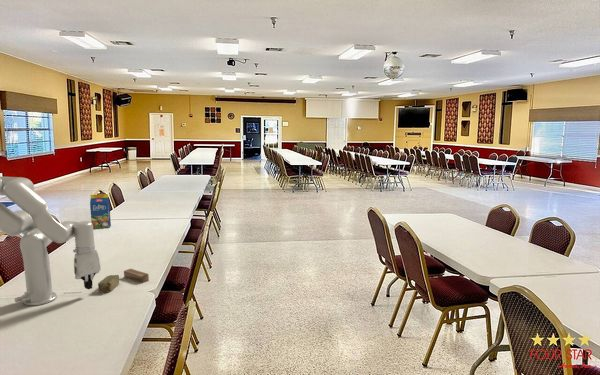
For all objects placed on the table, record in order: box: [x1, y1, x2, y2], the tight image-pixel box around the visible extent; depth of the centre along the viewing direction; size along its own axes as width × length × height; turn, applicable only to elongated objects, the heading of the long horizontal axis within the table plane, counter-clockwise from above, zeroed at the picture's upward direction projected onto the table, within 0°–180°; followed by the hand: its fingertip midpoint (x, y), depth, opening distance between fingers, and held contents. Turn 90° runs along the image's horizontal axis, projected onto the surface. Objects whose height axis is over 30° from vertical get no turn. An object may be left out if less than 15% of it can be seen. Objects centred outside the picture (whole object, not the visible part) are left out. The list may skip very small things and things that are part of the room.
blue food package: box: [89, 193, 112, 229], centre depth 312 cm, size 6×12×25 cm, turn 104°
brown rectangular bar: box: [123, 268, 150, 284], centre depth 211 cm, size 4×14×4 cm, turn 57°
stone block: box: [97, 274, 120, 294], centre depth 199 cm, size 6×12×5 cm, turn 1°
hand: (88, 288), depth 190 cm, fingers closed
